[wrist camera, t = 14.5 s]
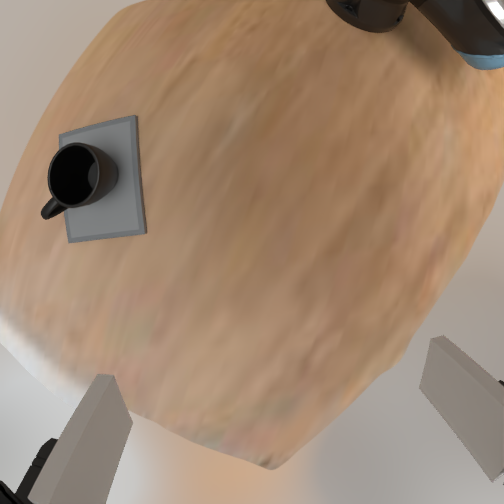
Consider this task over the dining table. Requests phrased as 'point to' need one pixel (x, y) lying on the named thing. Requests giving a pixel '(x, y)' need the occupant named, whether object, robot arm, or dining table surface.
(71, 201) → the mug
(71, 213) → the slate board
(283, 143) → the dining table surface
